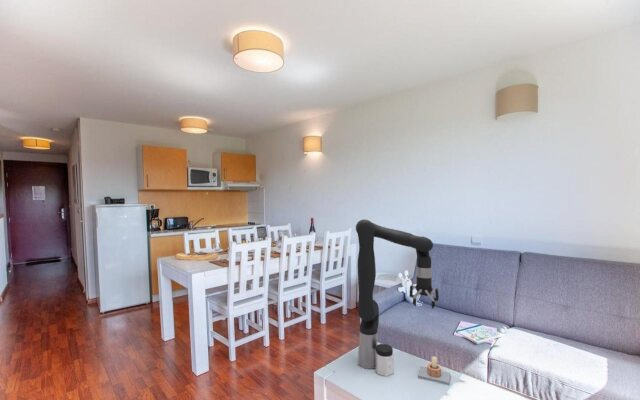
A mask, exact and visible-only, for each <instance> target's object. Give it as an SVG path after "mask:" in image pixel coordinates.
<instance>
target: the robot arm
mask: <svg viewBox="0 0 640 400" xmlns="http://www.w3.org/2000/svg"><path fill="white" fill-rule="evenodd" d="M355 231H356V233H357V237H358V249H359V250H358V254H357V282H358V283H357V285H358V286H357V287H358V302H357V314H358V316H359V318H360V320H361V321H360V324H359V345H358V348H357V349H358V351H357V352H358V357H357V358H358V359H357V360H358V361H357V363H358V366H360V367H362V368H364V369H368V370H369V369H370V370H373V369H376V346H377V345H379V344H378V341H379V340H378V337H379V336H378V329H379V321H380V320H379V319H380V307H379V305H378V303H377V301H376V300H374V289H375V283H376V277H377V275H376V274H377V272H376V269H377V268H376V258H375V257H376V256H375V250H374V249H375V248H374V247H375V243H374V242H375V238H377V239H378V238H379V239H380V240H381V239H383V240H385V241H387V242H390V243H393V244H397V245H400V246H404V247H408V248H411V249H415V251H416V270H415V271H416V274H415V275H416V278H415V279H416V284H415V285H413V284H410V286H409V296H408V297H410V298H412V300H413V301H412V304H413V305H414V307H416V306H417V297H418V296H425V297H429V299H430V300H431V309H434V308H435V306H436V302H437V301H439V299H440V295H439V288H438V287H436V288H435V287H434V288H433V286H432V285H433V284H432V281H433V280H432V279H433V277H432V276H433V273H432V272H433V271H432V257H431V256H430V251H431V250H432V249H433V247H434V243H433V241H432V240H431V239H430V238H428V237H426V236H423V235H422V236H420V235H415V234H413V233H411V232H410V233H409V232H407V231H402V230H398V229H394V228H390V227H389V228H388V227H385V226H382V225H378V224H376V223H374V222H372V221H370V220H369V219H365V218H364V219H361V220H359V221H357V222H356V225H355ZM414 290H416V292H415V294H413V293H414ZM432 292H434V294H435V296H434V295H433V293H432Z"/></svg>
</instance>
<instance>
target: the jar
mask: <svg viewBox="0 0 640 400" xmlns="http://www.w3.org/2000/svg"><path fill="white" fill-rule="evenodd" d="M393 351H394V350H393V347H392V345H390V344H387V343H386V344H385V343H379V344H378V345H377V346H376V368H375V371H376V373H377V374H378V375H379V376H385V377H389V376H391V375H393V374H394V353H393Z"/></svg>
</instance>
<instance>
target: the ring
mask: <svg viewBox="0 0 640 400" xmlns="http://www.w3.org/2000/svg"><path fill="white" fill-rule="evenodd" d="M426 367H427V374H428V375H429V376H431V377H435V378H438V377H441V371H442V367H441V366H440V365H439V364H437V369H432V362H431V363H428V364H427V366H426Z"/></svg>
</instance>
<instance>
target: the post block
mask: <svg viewBox="0 0 640 400" xmlns="http://www.w3.org/2000/svg"><path fill="white" fill-rule="evenodd" d="M431 363H432V369H437V365H438V358H437V356H435V355H434V356H433V355H432V356H431ZM417 378H418V379H422V380H426V381H430V382H435V383H438V384H441V385H442V384H443V385H446V386H450V384H451V383H450V381H451V372H449V371H445V370H441V377H438V378H435V377H431V376H429V375H428V374H427V366H426V367H425V366H423V365H421V366H419V370H418V373H417Z"/></svg>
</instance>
